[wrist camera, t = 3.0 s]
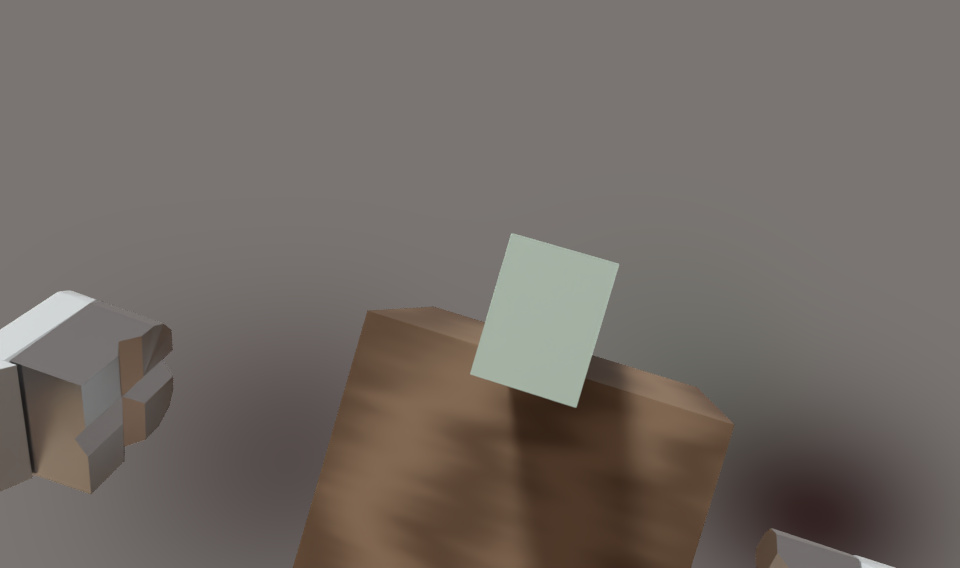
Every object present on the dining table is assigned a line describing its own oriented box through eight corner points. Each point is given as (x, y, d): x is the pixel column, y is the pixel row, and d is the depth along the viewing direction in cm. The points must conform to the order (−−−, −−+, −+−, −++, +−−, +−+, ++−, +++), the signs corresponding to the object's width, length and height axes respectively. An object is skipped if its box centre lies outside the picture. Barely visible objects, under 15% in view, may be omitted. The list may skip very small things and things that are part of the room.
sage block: (590, 353, 42) (612, 279, 42) (576, 408, 22) (619, 264, 22) (535, 336, 43) (557, 263, 43) (470, 374, 22) (511, 232, 22)
